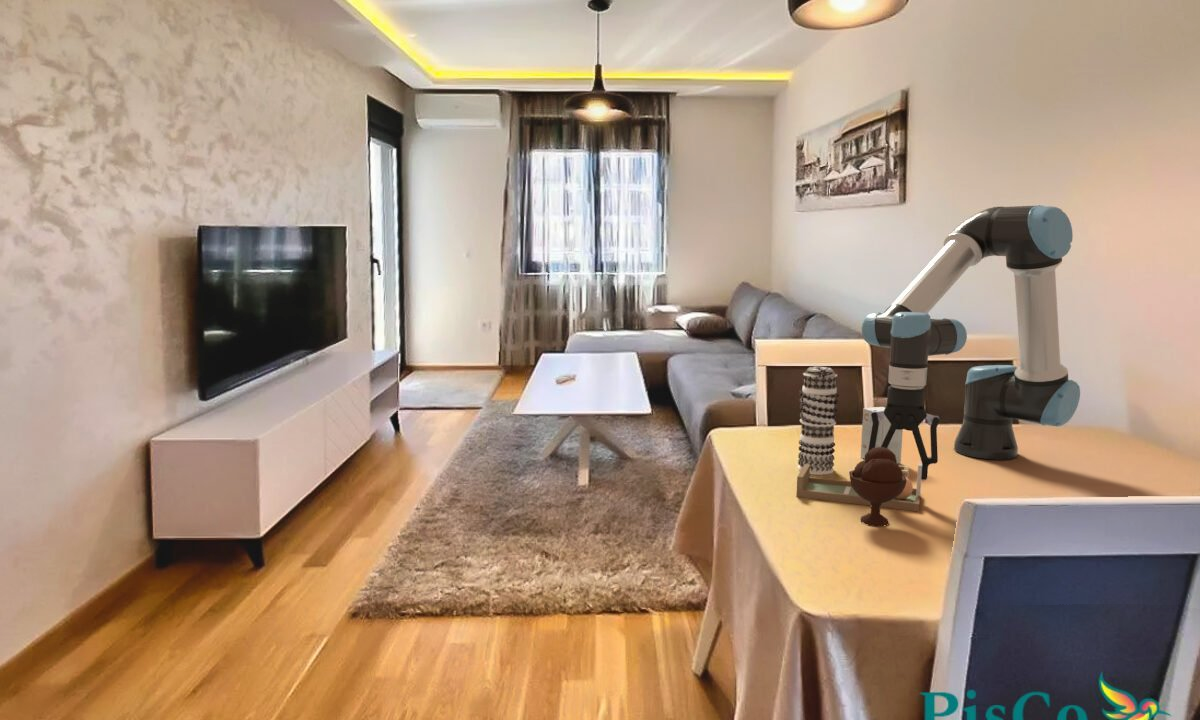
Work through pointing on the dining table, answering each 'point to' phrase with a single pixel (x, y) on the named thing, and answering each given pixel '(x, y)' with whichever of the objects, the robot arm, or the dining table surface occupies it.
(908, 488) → the ball
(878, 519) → the ice cream bowl
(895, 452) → the small box
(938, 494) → the dining table surface
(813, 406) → the decorative candle
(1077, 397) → the robot arm
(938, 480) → the dining table surface
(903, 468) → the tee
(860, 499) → the tray
